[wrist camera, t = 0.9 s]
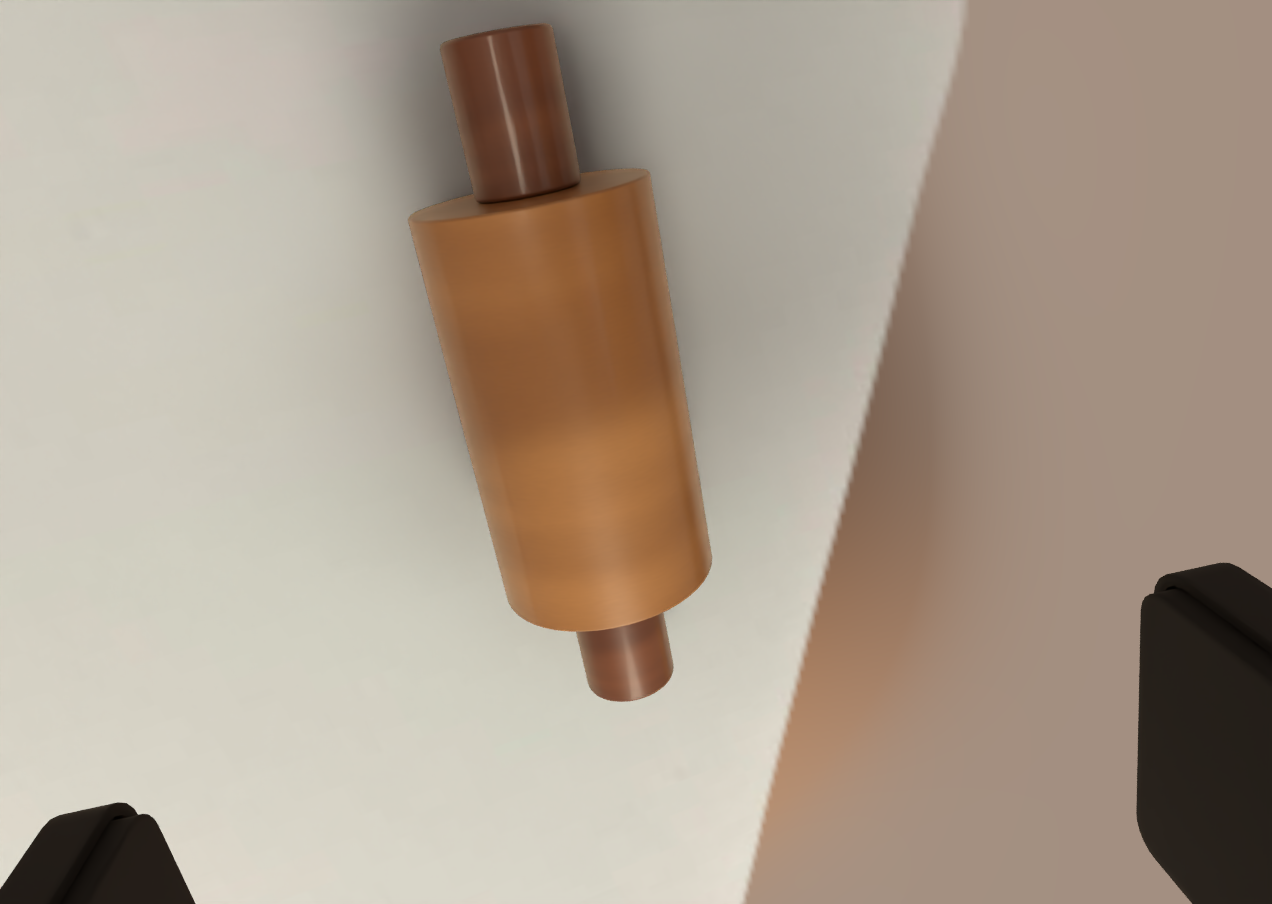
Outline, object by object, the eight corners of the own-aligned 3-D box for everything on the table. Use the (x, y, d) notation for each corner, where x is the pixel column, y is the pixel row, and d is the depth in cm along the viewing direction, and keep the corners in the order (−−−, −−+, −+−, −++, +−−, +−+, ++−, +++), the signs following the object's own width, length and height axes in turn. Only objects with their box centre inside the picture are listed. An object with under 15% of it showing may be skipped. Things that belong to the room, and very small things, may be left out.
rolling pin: (390, 61, 20) (336, 53, 15) (617, 18, 20) (631, -2, 15) (537, 637, 26) (529, 760, 21) (713, 604, 26) (745, 719, 21)
